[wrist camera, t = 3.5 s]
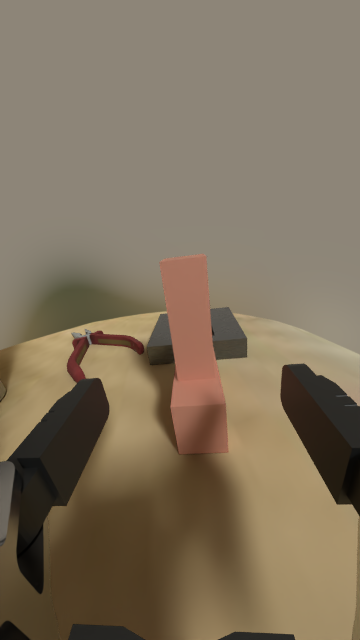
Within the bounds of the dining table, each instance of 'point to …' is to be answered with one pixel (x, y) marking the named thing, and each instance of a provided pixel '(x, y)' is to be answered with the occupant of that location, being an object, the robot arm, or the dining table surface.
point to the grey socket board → (224, 336)
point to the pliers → (98, 338)
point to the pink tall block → (193, 358)
